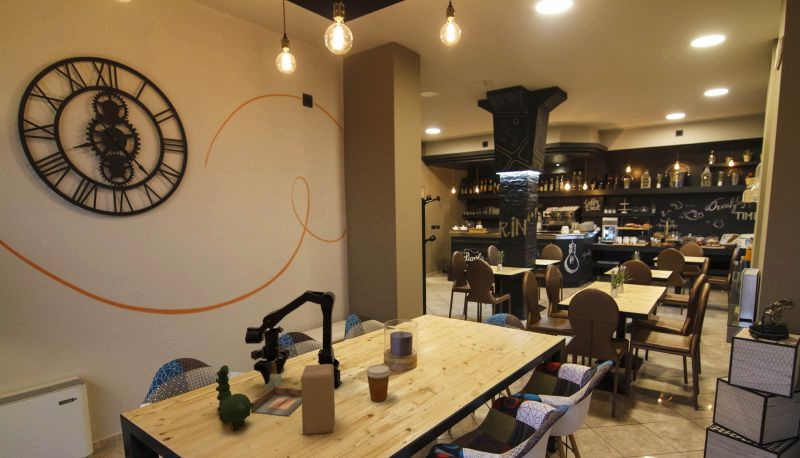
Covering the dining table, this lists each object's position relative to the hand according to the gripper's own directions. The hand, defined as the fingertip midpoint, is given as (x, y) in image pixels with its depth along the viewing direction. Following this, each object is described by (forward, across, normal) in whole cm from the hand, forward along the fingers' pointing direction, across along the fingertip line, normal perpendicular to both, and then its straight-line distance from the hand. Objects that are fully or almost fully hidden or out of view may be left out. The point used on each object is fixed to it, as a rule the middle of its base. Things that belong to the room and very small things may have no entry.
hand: (273, 379), depth 168 cm
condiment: (+4, -15, -8) cm, 17 cm away
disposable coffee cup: (+4, +1, +47) cm, 47 cm away
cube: (+4, 0, 0) cm, 4 cm away
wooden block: (+4, +25, +33) cm, 42 cm away
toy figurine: (+4, +28, +1) cm, 28 cm away
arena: (+4, +14, +12) cm, 19 cm away
